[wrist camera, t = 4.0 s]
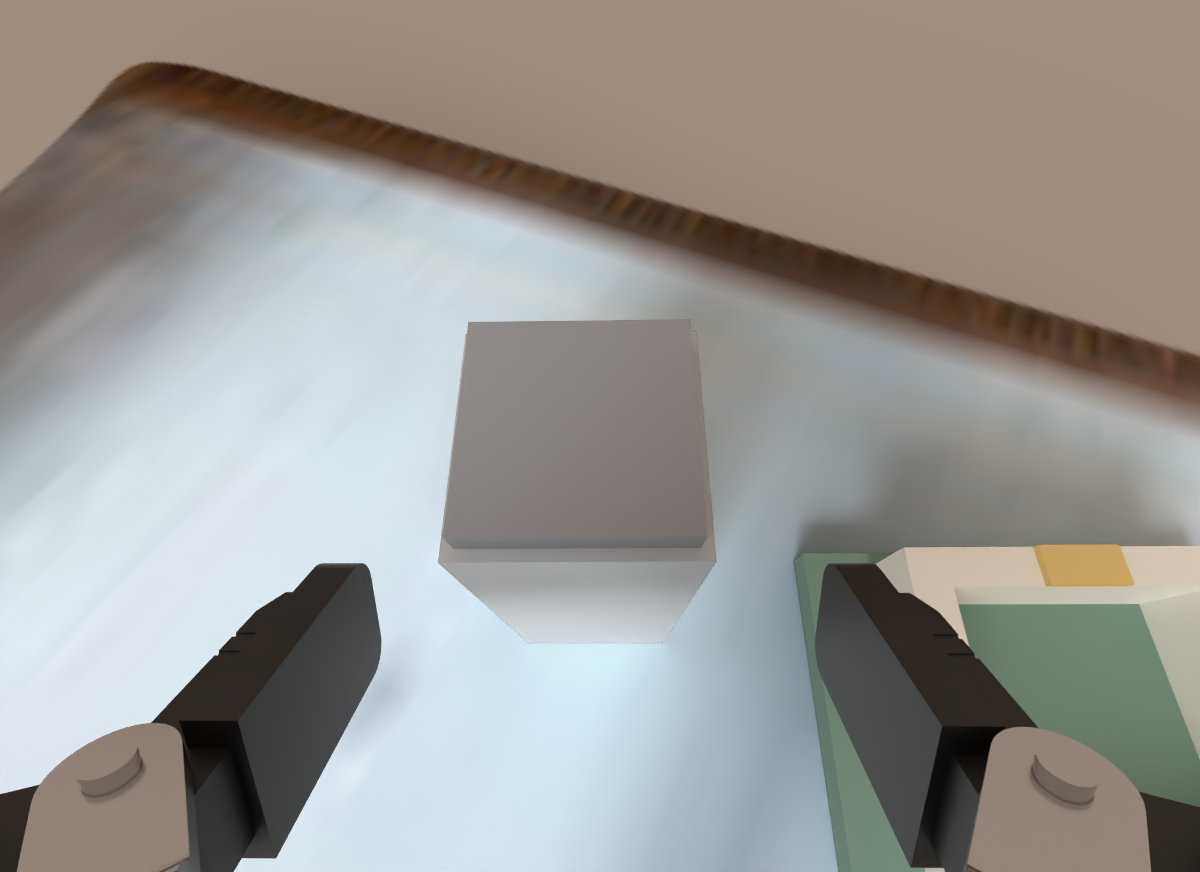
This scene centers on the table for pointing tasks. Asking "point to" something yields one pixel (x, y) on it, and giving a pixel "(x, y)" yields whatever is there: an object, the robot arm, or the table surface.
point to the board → (1040, 662)
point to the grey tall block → (580, 478)
